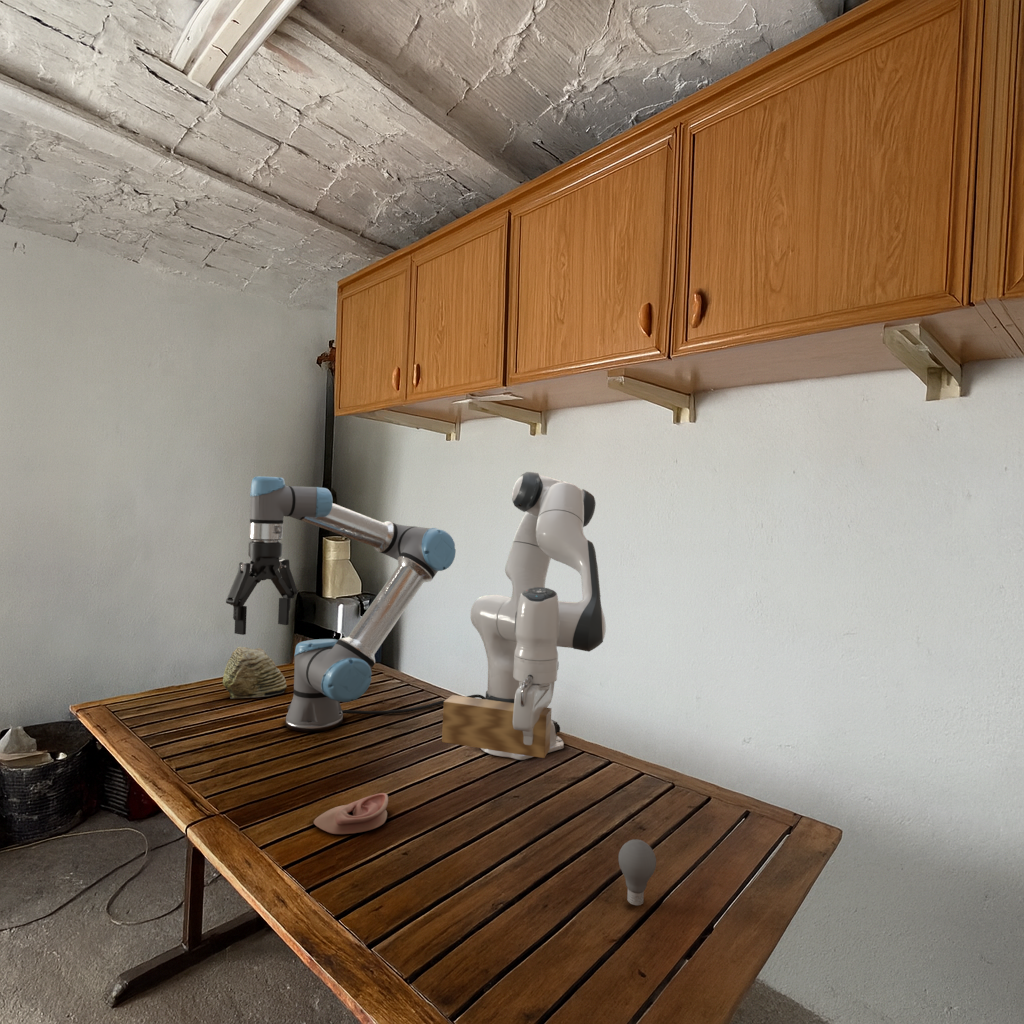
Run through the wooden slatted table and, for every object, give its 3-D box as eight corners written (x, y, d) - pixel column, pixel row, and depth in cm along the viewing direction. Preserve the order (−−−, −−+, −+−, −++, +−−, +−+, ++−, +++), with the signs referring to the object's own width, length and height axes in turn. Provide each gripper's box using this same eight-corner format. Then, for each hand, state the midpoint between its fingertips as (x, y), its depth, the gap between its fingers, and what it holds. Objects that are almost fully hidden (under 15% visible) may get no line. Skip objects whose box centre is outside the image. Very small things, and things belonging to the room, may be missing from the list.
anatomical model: (306, 809, 120) (334, 783, 131) (305, 829, 120) (334, 802, 131) (371, 819, 117) (395, 791, 129) (370, 840, 117) (394, 811, 129)
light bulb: (612, 891, 105) (615, 832, 105) (647, 891, 106) (650, 832, 105) (621, 915, 99) (624, 852, 99) (659, 914, 100) (662, 852, 99)
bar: (441, 742, 130) (443, 701, 130) (450, 734, 135) (452, 694, 135) (544, 758, 124) (546, 715, 124) (549, 749, 129) (551, 708, 129)
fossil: (218, 695, 195) (220, 647, 195) (278, 685, 208) (279, 640, 207) (228, 703, 189) (230, 653, 188) (289, 692, 201) (290, 645, 201)
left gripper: (235, 544, 139) (232, 640, 139) (313, 539, 162) (310, 622, 162) (210, 542, 142) (207, 636, 142) (291, 537, 165) (288, 619, 165)
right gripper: (539, 685, 116) (535, 760, 117) (560, 660, 136) (557, 723, 136) (506, 681, 118) (502, 755, 118) (531, 656, 138) (528, 720, 138)
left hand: (262, 629), depth 152 cm, fingers open, 13 cm apart
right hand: (532, 738), depth 127 cm, fingers closed on bar, 5 cm apart
